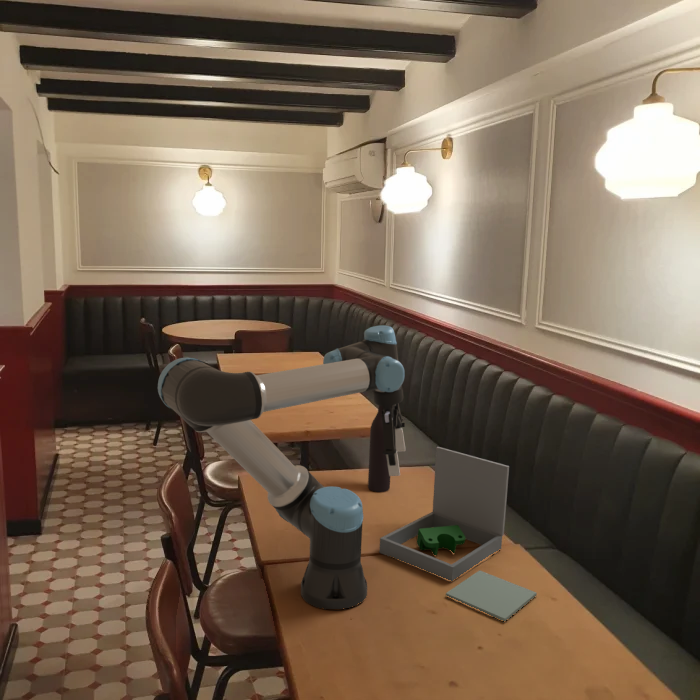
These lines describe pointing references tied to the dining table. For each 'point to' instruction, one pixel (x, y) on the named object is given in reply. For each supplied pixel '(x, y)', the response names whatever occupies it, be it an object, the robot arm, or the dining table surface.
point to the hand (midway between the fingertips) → (397, 462)
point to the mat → (492, 595)
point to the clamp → (440, 538)
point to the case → (458, 512)
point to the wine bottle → (378, 457)
